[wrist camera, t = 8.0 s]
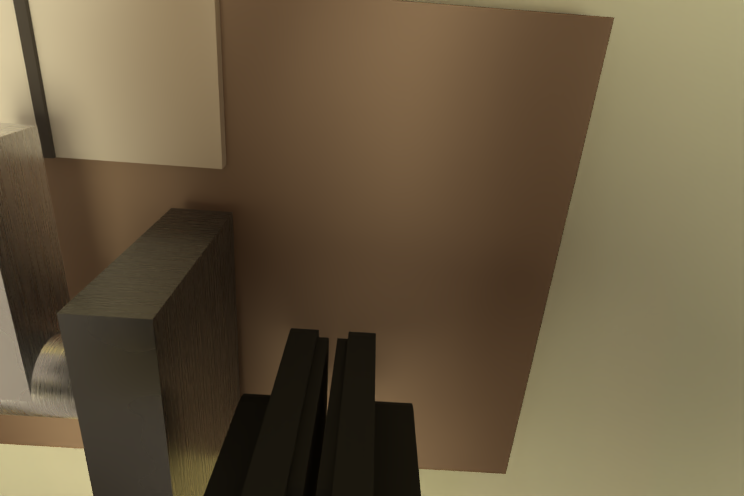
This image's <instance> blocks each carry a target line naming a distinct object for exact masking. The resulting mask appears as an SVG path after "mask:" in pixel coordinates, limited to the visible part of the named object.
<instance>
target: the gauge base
mask: <svg viewBox="0 0 744 496" xmlns="http://www.w3.org/2000/svg"><path fill="white" fill-rule="evenodd" d="M613 20H614V18H612V17H599V16H587V15H574V14H561V13H549V12H536V11H524V10H511V9H498V8H486V7H473V6H460V5H448V4H435V3H423V2H410V1H397V0H0V123H11V124H25V125H37V127H38V133H39V138H40V143H41V149H42V154H43V159H44V165H45V170H46V175H47V181H48V186H49V191H50V197H51V202H52V207H53V213H54V218H55V223H56V229H57V234H58V239H59V245H60V250H61V255H62V261H63V266H64V271H65V277H66V282H67V287H68V293H69V298H70V301H71V300H72V299H73V298H74V297H75V296H76V295H77V294H78V293H79V292H80V291H82V290H83V289H84V288H85V287H86V286H87V285H88V284H89V283H90V282H91V281H92V280H94V279H95V278H96V277H97V276H98V275H99V274H100V273H101V272H102V271H103V270H104V269H106V268H107V267H108V266H109V265H110V264H111V263H112V262H113V261H114V260H115V259H116V258H117V257H119V256H120V255H121V254H122V253H123V252H124V251H125V250H126V249H127V248H128V247H129V246H131V245H132V244H133V243H134V242H135V241H136V240H137V239H138V238H139V237H140V236H141V235H143V234H144V233H145V232H146V231H147V230H148V229H149V228H150V227H151V226H152V225H153V224H154V223H156V222H157V221H158V220H159V219H160V218H161V217H162V216H163V215H164V214H165V213H166V212H168V211H169V210H170V209H171V208H181V209H195V210H210V211H224V212H233V232H234V257H235V283H236V309H237V334H238V360H239V385H240V398H241V396H242V395H243V394H244V393H245V394H262V395H271V392H272V389H273V386H274V382H275V379H276V376H277V372H278V369H279V365H280V362H281V359H282V355H283V352H284V348H285V345H286V342H287V338H288V335H289V332H290V329H291V328H298V329H315V330H319V337H326V338H329V360H328V391H327V410H328V402H329V395H330V388H331V381H332V373H333V366H334V359H335V352H336V344H337V338H343V339H348V334H349V332H366V333H376V366H375V401H383V402H400V403H412V405H413V410H414V421H415V433H416V444H417V456H418V468H419V469H435V470H451V471H468V472H485V473H502V474H506V470H507V466H508V462H509V457H510V453H511V449H512V445H513V441H514V436H515V432H516V428H517V424H518V419H519V415H520V411H521V407H522V403H523V398H524V394H525V390H526V386H527V382H528V377H529V373H530V369H531V365H532V361H533V356H534V352H535V348H536V344H537V340H538V335H539V331H540V327H541V323H542V319H543V314H544V310H545V306H546V302H547V298H548V293H549V289H550V285H551V281H552V277H553V272H554V268H555V264H556V260H557V256H558V251H559V247H560V243H561V239H562V235H563V230H564V226H565V222H566V218H567V214H568V209H569V205H570V201H571V197H572V193H573V188H574V184H575V180H576V176H577V172H578V167H579V163H580V159H581V155H582V151H583V146H584V142H585V138H586V134H587V129H588V125H589V121H590V117H591V113H592V108H593V104H594V100H595V96H596V92H597V87H598V83H599V79H600V75H601V71H602V66H603V62H604V58H605V54H606V50H607V45H608V41H609V37H610V33H611V29H612V24H613ZM0 444H17V445H33V446H50V447H67V448H84V446H83V441H82V436H81V431H80V426H79V421H78V419H68V418H51V417H35V416H18V415H2V414H0Z"/></svg>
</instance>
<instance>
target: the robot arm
mask: <svg viewBox="0 0 744 496" xmlns="http://www.w3.org/2000/svg"><path fill="white" fill-rule="evenodd" d="M328 360H329V338H326V337H319V330H315V329H298V328H291V329H290V332H289V335H288V338H287V342H286V345H285V348H284V352H283V355H282V359H281V362H280V365H279V369H278V372H277V376H276V379H275V382H274V386H273V389H272V392H271V395H262V394H245V393H244V394H243V395H242V396H241V398H240V400H239V402H238V405H237V408H236V410H235V413H234V416H233V418H232V421H231V423H230V426H229V429H228V431H227V434H226V437H225V439H224V442H223V445H222V447H221V450H220V453H219V455H218V458H217V461H216V463H215V466H214V469H213V471H212V474H211V477H210V479H209V482H208V485H207V487H206V490H205V493H204V495H203V496H421V491H420V480H419V468H418V456H417V444H416V433H415V421H414V410H413V405H412V403H400V402H383V401H375V366H376V333H366V332H349V334H348V339H343V338H337V344H336V352H335V359H334V366H333V373H332V381H331V388H330V395H329V402H328V410H327V391H328Z"/></svg>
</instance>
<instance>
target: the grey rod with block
mask: <svg viewBox="0 0 744 496" xmlns="http://www.w3.org/2000/svg"><path fill="white" fill-rule="evenodd" d="M239 400H240V385H239V360H238V334H237V309H236V283H235V257H234V232H233V212H224V211H210V210H195V209H181V208H171V209H170V210H169V211H168V212H166V213H165V214H164V215H163V216H162V217H161V218H160V219H159V220H158V221H157V222H156V223H154V224H153V225H152V226H151V227H150V228H149V229H148V230H147V231H146V232H145V233H144V234H143V235H141V236H140V237H139V238H138V239H137V240H136V241H135V242H134V243H133V244H132V245H131V246H129V247H128V248H127V249H126V250H125V251H124V252H123V253H122V254H121V255H120V256H119V257H117V258H116V259H115V260H114V261H113V262H112V263H111V264H110V265H109V266H108V267H107V268H106V269H104V270H103V271H102V272H101V273H100V274H99V275H98V276H97V277H96V278H95V279H94V280H92V281H91V282H90V283H89V284H88V285H87V286H86V287H85V288H84V289H83V290H82V291H80V292H79V293H78V294H77V295H76V296H75V297H74V298H73V299H72V300H71V301H70V298H69V293H68V287H67V282H66V277H65V271H64V266H63V261H62V255H61V250H60V245H59V239H58V234H57V229H56V223H55V218H54V213H53V207H52V202H51V197H50V191H49V186H48V181H47V175H46V170H45V165H44V159H43V154H42V149H41V143H40V138H39V133H38V127H37V125H25V124H11V123H0V414H2V415H18V416H35V417H51V418H68V419H78V421H79V426H80V431H81V436H82V441H83V446H84V451H85V456H86V461H87V466H88V471H89V476H90V481H91V486H92V491H93V496H203V495H204V493H205V490H206V487H207V485H208V482H209V479H210V477H211V474H212V471H213V469H214V466H215V463H216V461H217V458H218V455H219V453H220V450H221V447H222V445H223V442H224V439H225V437H226V434H227V431H228V429H229V426H230V423H231V421H232V418H233V416H234V413H235V410H236V408H237V405H238V402H239Z"/></svg>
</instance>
